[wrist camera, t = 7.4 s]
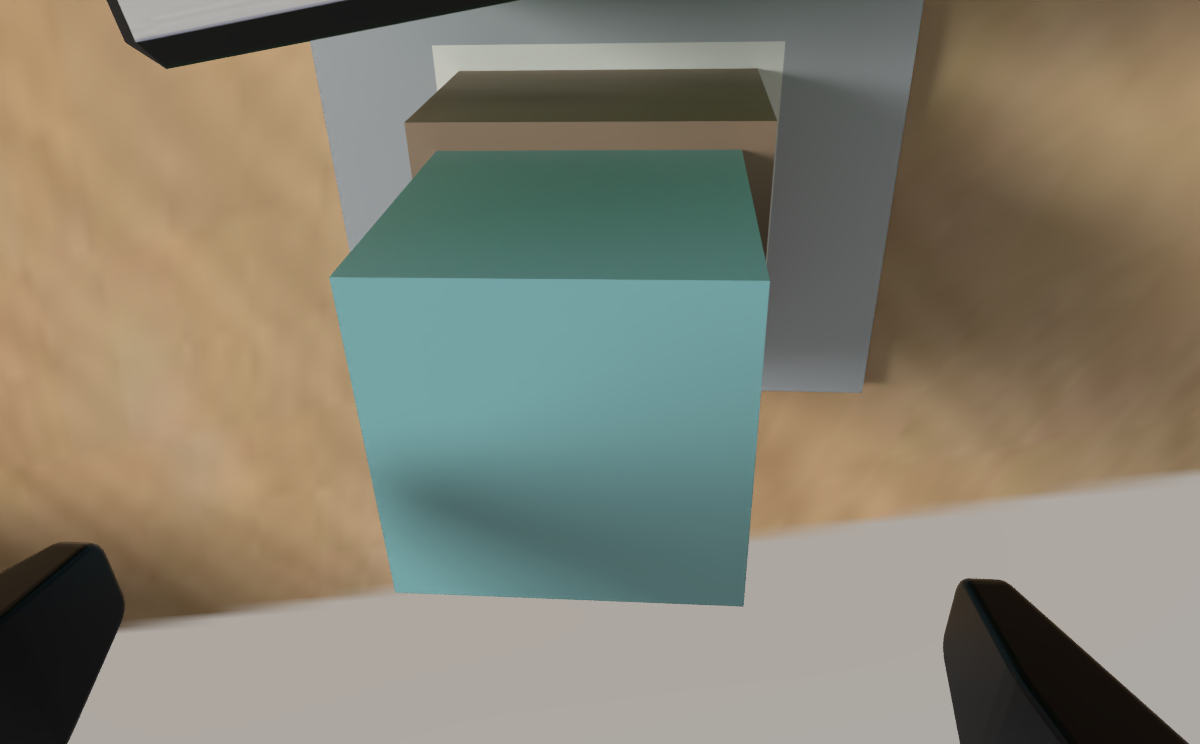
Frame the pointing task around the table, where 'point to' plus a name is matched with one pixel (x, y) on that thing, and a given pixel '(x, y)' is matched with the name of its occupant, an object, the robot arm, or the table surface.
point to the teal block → (562, 373)
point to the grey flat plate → (682, 41)
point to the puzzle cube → (259, 23)
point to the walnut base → (604, 116)
